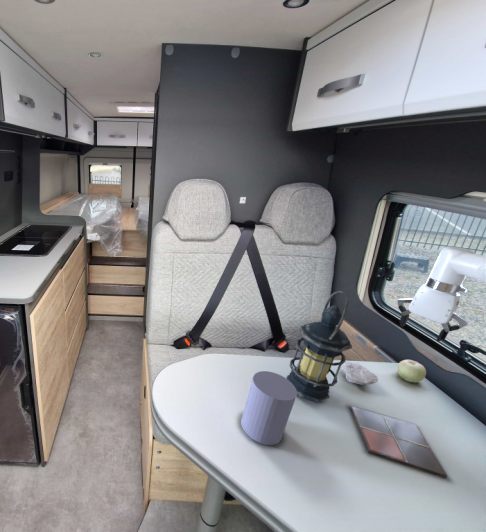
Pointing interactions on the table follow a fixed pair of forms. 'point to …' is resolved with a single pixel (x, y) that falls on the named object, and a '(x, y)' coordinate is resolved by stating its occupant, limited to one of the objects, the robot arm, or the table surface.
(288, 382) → the container
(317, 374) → the lantern
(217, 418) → the table surface
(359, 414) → the board
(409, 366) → the fruit
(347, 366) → the fossil
